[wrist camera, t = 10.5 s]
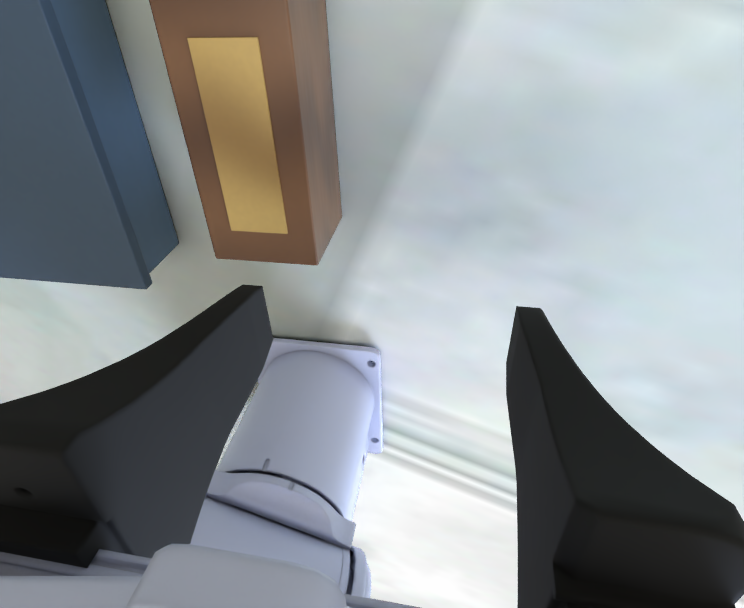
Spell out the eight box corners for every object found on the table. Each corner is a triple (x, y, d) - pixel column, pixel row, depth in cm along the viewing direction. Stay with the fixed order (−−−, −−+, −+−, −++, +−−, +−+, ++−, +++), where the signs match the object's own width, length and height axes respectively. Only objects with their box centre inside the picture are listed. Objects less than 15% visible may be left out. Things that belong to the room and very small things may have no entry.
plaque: (342, 217, 24) (317, 267, 20) (253, 212, 25) (214, 260, 21) (323, -30, 18) (283, -21, 14) (207, -26, 19) (141, -17, 15)
